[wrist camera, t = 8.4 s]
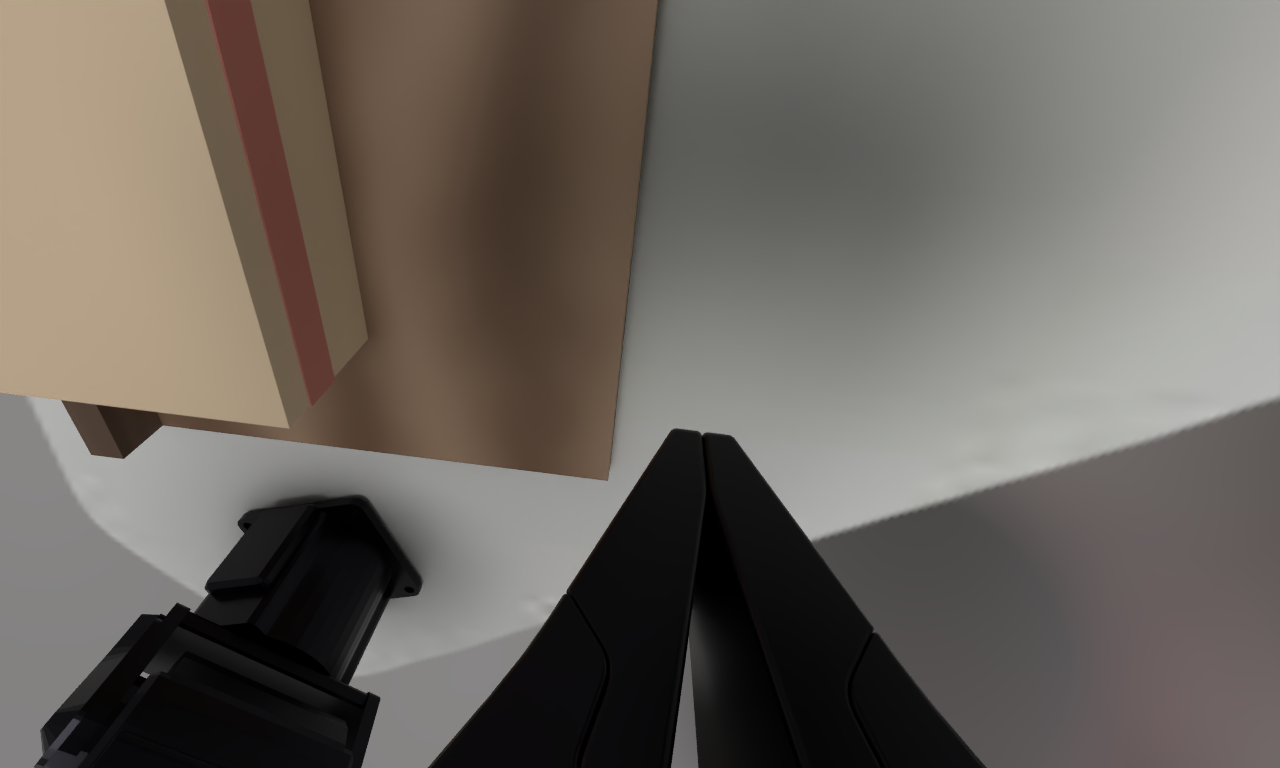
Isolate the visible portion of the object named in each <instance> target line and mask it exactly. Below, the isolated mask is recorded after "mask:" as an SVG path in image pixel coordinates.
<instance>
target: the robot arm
mask: <svg viewBox="0 0 1280 768" xmlns="http://www.w3.org/2000/svg"><path fill="white" fill-rule="evenodd" d="M238 526H239V528H240V529H241V530H242V531H243V532H244V533H245V534H244V535H243V536H242V538H241V539H240V540H239V542H238V543H237V544H236V545H235V547H234V548H233V549H232V550H231V552H230V553H229V554H228V555H227V557H226V558H225V559H224V560H223V562H222V563H221V564H220V566H219V567H218V568H217V569H216V571H215V572H214V573H213V574H212V576H211V577H210V578H209V579H208V581H207V583H206V586H205V590H206V591H207V592H208V593H209V594H208V595H207V597H206V598H205V599H204V600H203V602H202V603H201V604H200V606H199V607H198V608H197V610H196V611H195V612H194V613H192V612H190V608H188V607H186V606H184V605H182V604H179V603H176V605H175V606H174V607H173V608H172V609H171V611H170V612H169V613H168V614H167V616H165V615H163V614H160V615H148V614H142V615H141V616H140V617H139V618H138V619H137V620H136V622H135V623H134V624H133V625H132V626H131V627H130V628H129V630H128V631H127V632H126V633H125V634H124V636H123V637H122V638H121V639H120V640H119V641H118V643H117V644H116V645H115V646H114V647H113V648H112V650H111V651H110V652H109V653H108V654H107V655H106V657H105V658H104V659H103V660H102V661H101V662H100V663H99V664H98V665H97V667H96V668H95V669H94V670H93V671H92V672H91V673H90V674H89V675H88V677H87V678H86V679H85V680H84V681H83V682H82V683H81V685H79V687H78V688H77V689H76V690H75V691H74V692H73V693H72V694H71V695H70V697H69V698H68V699H67V700H66V701H65V702H64V703H63V704H62V705H61V707H60V708H59V709H58V710H57V711H56V712H55V713H54V714H53V716H52V717H51V718H50V719H49V721H48V722H47V723H46V724H45V725H44V727H43V728H42V729H41V730H40V732H41V741H42V750H43V756H42V757H41V759H40V760H39V761H38V762H37V764H36V765H35V766H34V767H35V768H361V766H362V763H363V759H364V756H365V752H366V748H367V745H368V741H369V738H370V734H371V731H372V727H373V724H374V720H375V716H376V713H377V709H378V705H379V702H380V697H379V696H377V695H375V694H372V693H370V692H368V693H364V692H362V691H360V690H358V689H356V688H353V687H352V686H349V683H350V680H351V679H352V676H353V674H354V672H355V670H356V668H357V666H358V664H359V662H360V660H361V658H362V656H363V653H364V651H365V649H366V647H367V645H368V643H369V641H370V639H371V637H372V635H373V633H374V630H375V628H376V626H377V624H378V622H379V620H380V618H381V616H382V614H383V612H384V609H385V607H386V605H387V603H388V601H389V599H391V598H400V597H410V596H416V595H418V594H419V592H420V590H421V587H422V582H421V581H420V579H419V578H418V576H417V575H416V574H415V572H414V571H413V569H412V568H411V566H410V565H409V563H408V562H407V560H406V559H405V558H404V556H403V555H402V553H401V552H400V550H399V549H398V547H397V546H396V544H395V543H394V542H393V540H392V539H391V537H390V536H389V534H388V533H387V531H386V530H385V528H384V527H383V526H382V524H381V523H380V521H379V520H378V518H377V517H376V515H375V514H374V512H373V511H372V510H371V508H370V507H369V505H368V504H367V503H366V502H365V501H364V500H362V499H360V498H346V499H339V500H332V501H325V502H318V503H311V504H304V505H297V506H290V507H283V508H276V509H269V510H262V511H255V512H248V513H245V514H244V515H243V516H242V518H241V519H240V520H239V521H238ZM873 630H874V627H873V626H872V624H871V623H870V621H869V620H868V619H867V617H866V616H865V614H864V613H863V612H862V611H861V609H860V608H859V607H858V605H857V604H856V602H855V601H854V600H853V598H852V597H851V596H850V594H849V593H848V592H847V590H846V589H845V587H844V586H843V585H842V583H841V582H840V581H839V579H838V578H837V577H836V575H835V574H834V573H833V571H832V570H831V568H830V567H829V566H828V564H827V563H826V562H825V560H824V559H823V558H822V556H821V555H820V554H819V552H818V551H817V549H816V548H815V547H814V545H813V544H812V543H811V541H810V540H809V539H808V537H807V536H806V535H805V533H804V532H803V531H802V529H801V528H800V526H799V525H798V524H797V522H796V521H795V520H794V518H793V517H792V516H791V514H790V513H789V512H788V510H787V509H786V508H785V506H784V505H783V503H782V502H781V501H780V499H779V498H778V497H777V495H776V494H775V493H774V491H773V490H772V489H771V487H770V486H769V484H768V483H767V482H766V480H765V479H764V478H763V476H762V475H761V474H760V472H759V471H758V470H757V468H756V467H755V466H754V464H753V463H752V461H751V460H750V459H749V457H748V456H747V455H746V453H745V452H744V451H743V449H742V448H741V447H740V445H739V444H738V442H737V441H736V440H735V439H734V438H733V437H732V436H730V435H725V434H717V433H709V432H706V433H704V434H703V435H701V433H700V432H698V431H693V430H685V429H677V428H676V429H673V430H671V431H670V433H669V434H668V436H667V437H666V439H665V440H664V442H663V444H662V445H661V447H660V448H659V450H658V451H657V453H656V454H655V456H654V457H653V459H652V460H651V462H650V463H649V465H648V467H647V468H646V470H645V471H644V473H643V474H642V476H641V477H640V479H639V480H638V482H637V483H636V485H635V486H634V488H633V490H632V491H631V493H630V494H629V496H628V497H627V499H626V500H625V502H624V503H623V505H622V506H621V508H620V510H619V511H618V513H617V514H616V516H615V517H614V519H613V520H612V522H611V523H610V525H609V526H608V528H607V529H606V531H605V533H604V534H603V536H602V537H601V539H600V540H599V542H598V543H597V545H596V546H595V548H594V549H593V551H592V552H591V554H590V556H589V557H588V559H587V560H586V562H585V563H584V565H583V566H582V568H581V569H580V571H579V572H578V574H577V575H576V577H575V579H574V580H573V582H572V583H571V585H570V586H569V588H568V589H567V594H565V595H563V596H562V598H561V599H560V601H559V602H558V604H557V605H556V607H555V609H554V610H553V612H552V613H551V615H550V616H549V618H548V619H547V621H546V622H545V624H544V625H543V626H542V628H541V629H540V631H539V632H538V633H537V635H536V636H535V638H534V639H533V641H532V642H531V643H530V645H529V646H528V648H527V649H526V650H525V652H524V653H523V655H522V656H521V657H520V659H519V660H518V661H517V662H516V664H515V665H514V666H513V667H512V669H511V670H510V671H509V672H508V674H507V675H506V676H505V677H504V678H503V680H502V681H501V682H500V684H499V685H498V686H497V687H496V688H495V690H494V691H493V692H492V693H491V695H490V696H489V697H488V698H487V700H486V701H485V702H484V703H483V704H482V705H481V706H480V708H479V709H478V710H477V711H476V712H475V713H474V715H473V716H472V717H471V718H470V719H469V720H468V722H467V723H466V724H465V725H464V726H463V727H462V729H461V730H460V731H459V732H458V733H457V734H456V736H455V737H454V738H453V739H452V740H451V742H450V743H449V744H448V745H447V746H446V747H445V748H444V750H443V751H442V752H441V753H440V754H439V755H438V757H437V758H436V759H435V760H434V761H433V762H432V764H431V765H430V766H429V767H428V768H671V763H672V755H673V748H674V741H675V733H676V726H677V717H678V711H679V703H680V696H681V689H682V682H683V674H684V667H685V660H686V652H687V645H688V637H689V641H690V656H691V670H692V684H693V698H694V711H695V726H696V740H697V753H698V767H699V768H987V767H986V766H985V765H984V764H983V763H982V762H981V761H980V759H979V758H978V757H977V756H976V755H975V754H974V753H973V751H972V750H971V749H970V748H969V747H968V745H967V744H966V743H965V742H964V741H963V740H962V738H961V737H960V736H959V735H958V734H957V733H956V731H955V730H954V729H953V728H952V727H951V725H950V724H949V723H948V722H947V721H946V720H945V718H944V717H943V716H942V715H941V713H940V712H939V711H938V710H937V709H936V708H935V706H934V705H933V704H932V703H931V701H930V700H929V699H928V698H927V696H926V695H925V694H924V692H923V691H922V690H921V688H920V687H919V686H918V685H917V683H916V682H915V681H914V679H913V678H912V677H911V676H910V675H909V673H908V672H907V671H906V669H905V668H904V667H903V665H902V664H901V663H900V662H899V660H898V659H897V657H896V656H895V655H894V653H893V652H892V651H891V649H890V648H889V647H888V645H887V644H886V643H885V641H884V640H883V638H882V637H881V636H880V634H878V633H876V632H875V633H873ZM872 633H873V634H872ZM142 672H145V673H148V674H150V675H149V677H148V678H147V679H146V678H144V677H142V676H140V674H141V673H142Z"/></svg>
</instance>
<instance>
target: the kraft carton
mask: <svg viewBox="0 0 1280 768" xmlns="http://www.w3.org/2000/svg"><path fill="white" fill-rule="evenodd" d="M367 340H368V334H367V328H366V323H365V317H364V311H363V306H362V300H361V294H360V289H359V283H358V277H357V272H356V266H355V260H354V255H353V249H352V243H351V238H350V232H349V226H348V221H347V215H346V209H345V204H344V198H343V192H342V187H341V181H340V175H339V170H338V164H337V158H336V153H335V147H334V141H333V136H332V130H331V124H330V119H329V113H328V107H327V102H326V96H325V90H324V85H323V79H322V73H321V68H320V62H319V56H318V50H317V45H316V39H315V33H314V28H313V22H312V16H311V11H310V5H309V0H0V393H8V394H16V395H24V396H32V397H40V398H48V399H56V400H64V401H72V402H80V403H88V404H96V405H104V406H112V407H120V408H128V409H136V410H144V411H152V412H160V413H168V414H176V415H184V416H192V417H200V418H208V419H216V420H224V421H232V422H240V423H248V424H256V425H264V426H272V427H280V428H288V429H290V428H291V426H292V425H293V424H294V423H295V422H296V421H297V420H298V418H299V417H300V416H301V415H302V414H303V413H304V412H305V410H306V409H307V408H308V407H312V406H313V405H314V404H315V403H316V402H317V401H318V399H319V398H320V397H321V396H322V395H323V394H324V392H325V391H326V390H327V389H328V388H329V387H330V386H331V384H332V383H333V382H334V381H335V378H334V377H335V376H336V375H337V374H338V373H339V372H340V370H341V369H342V368H343V367H344V366H345V365H346V364H347V362H348V361H349V360H350V359H351V358H352V357H353V356H354V355H355V353H356V352H357V351H358V350H359V349H360V348H361V347H362V345H363V344H364V343H365V342H366V341H367Z"/></svg>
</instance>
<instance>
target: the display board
mask: <svg viewBox="0 0 1280 768" xmlns="http://www.w3.org/2000/svg"><path fill="white" fill-rule="evenodd" d="M658 4H659V0H309V5H310V11H311V16H312V22H313V28H314V33H315V39H316V45H317V50H318V56H319V62H320V68H321V73H322V79H323V85H324V90H325V96H326V102H327V107H328V113H329V119H330V124H331V130H332V136H333V141H334V147H335V153H336V158H337V164H338V170H339V175H340V181H341V187H342V192H343V198H344V204H345V209H346V215H347V221H348V226H349V232H350V238H351V243H352V249H353V255H354V260H355V266H356V272H357V277H358V283H359V289H360V294H361V300H362V306H363V311H364V317H365V323H366V328H367V334H368V340H367V341H366V342H365V343H364V344H363V345H362V347H361V348H360V349H359V350H358V351H357V352H356V353H355V355H354V356H353V357H352V358H351V359H350V360H349V361H348V362H347V364H346V365H345V366H344V367H343V368H342V369H341V370H340V372H339V373H338V374H337V375H336V376H335V377H334V378H335V381H334V382H333V383H332V384H331V386H330V387H329V388H328V389H327V390H326V391H325V392H324V394H323V395H322V396H321V397H320V398H319V399H318V401H317V402H316V403H315V404H314V405H313V406H312V407H308V408H307V409H306V410H305V412H304V413H303V414H302V415H301V416H300V417H299V418H298V420H297V421H296V422H295V423H294V424H293V425H292V426H291V428H290V429H288V428H280V427H272V426H264V425H256V424H248V423H240V422H232V421H224V420H216V419H208V418H200V417H192V416H184V415H176V414H168V413H160V412H152V411H144V410H136V409H128V408H120V407H112V406H104V405H96V404H88V403H80V402H72V401H64V400H61V401H62V402H63V404H64V406H65V408H66V410H67V412H68V413H69V415H70V417H71V419H72V421H73V422H74V424H75V426H76V428H77V430H78V431H79V433H80V435H81V437H82V439H83V440H84V442H85V444H86V446H87V448H88V450H89V451H90V453H91V455H97V456H105V457H113V458H121V459H124V458H125V457H126V456H128V455H129V454H130V453H131V452H132V451H133V450H135V449H136V448H137V447H138V446H139V445H140V444H142V443H143V442H144V441H145V440H146V439H147V438H149V437H150V436H151V435H152V434H153V433H154V432H156V431H157V430H158V429H159V428H160V427H161V426H163V425H165V426H173V427H181V428H189V429H197V430H205V431H213V432H221V433H229V434H237V435H245V436H253V437H261V438H269V439H277V440H285V441H293V442H301V443H309V444H317V445H325V446H333V447H341V448H349V449H357V450H365V451H374V452H382V453H390V454H398V455H406V456H414V457H422V458H430V459H438V460H446V461H454V462H462V463H470V464H478V465H486V466H494V467H502V468H510V469H518V470H526V471H534V472H542V473H550V474H558V475H566V476H574V477H582V478H590V479H598V480H606V481H608V476H609V469H610V463H611V453H612V444H613V434H614V425H615V415H616V406H617V396H618V386H619V377H620V367H621V358H622V348H623V339H624V329H625V320H626V310H627V300H628V291H629V281H630V272H631V262H632V253H633V243H634V234H635V224H636V214H637V205H638V195H639V186H640V176H641V167H642V157H643V148H644V138H645V129H646V119H647V109H648V100H649V90H650V81H651V71H652V62H653V52H654V43H655V33H656V23H657V14H658Z"/></svg>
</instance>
